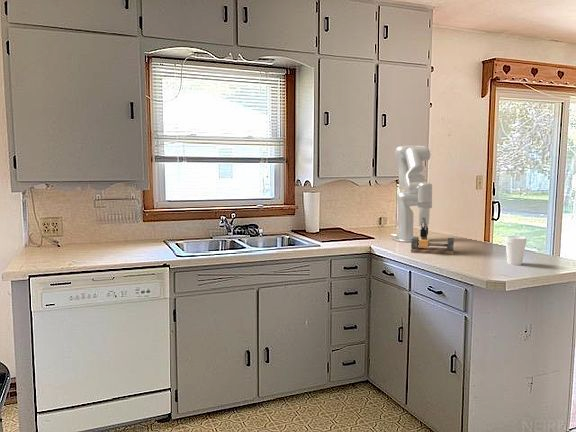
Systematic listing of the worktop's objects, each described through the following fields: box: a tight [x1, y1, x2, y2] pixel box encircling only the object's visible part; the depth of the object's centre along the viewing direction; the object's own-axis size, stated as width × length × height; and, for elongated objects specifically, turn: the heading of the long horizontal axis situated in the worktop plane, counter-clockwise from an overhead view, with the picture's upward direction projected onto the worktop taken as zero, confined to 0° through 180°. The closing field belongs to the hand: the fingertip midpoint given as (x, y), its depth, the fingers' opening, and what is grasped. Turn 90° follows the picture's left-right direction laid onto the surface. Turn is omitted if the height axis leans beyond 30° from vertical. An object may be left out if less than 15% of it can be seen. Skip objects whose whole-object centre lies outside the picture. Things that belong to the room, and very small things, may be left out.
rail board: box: [410, 236, 455, 256], centre depth 265 cm, size 22×12×8 cm, turn 69°
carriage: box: [418, 229, 430, 248], centre depth 266 cm, size 5×7×10 cm
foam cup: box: [504, 235, 527, 266], centre depth 231 cm, size 10×9×13 cm
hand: (424, 235), depth 266 cm, fingers open, 9 cm apart
